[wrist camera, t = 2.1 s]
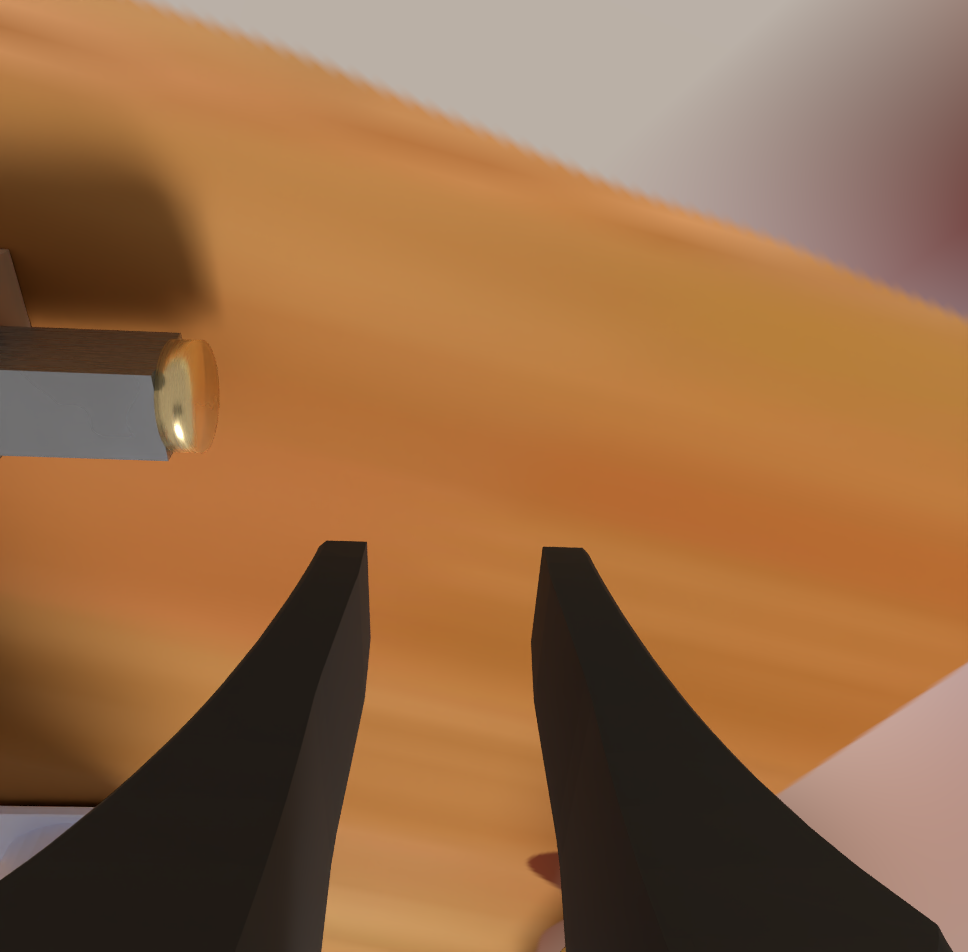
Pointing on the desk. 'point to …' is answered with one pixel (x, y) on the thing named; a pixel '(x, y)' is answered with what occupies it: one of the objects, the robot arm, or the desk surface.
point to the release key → (105, 394)
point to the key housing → (10, 295)
